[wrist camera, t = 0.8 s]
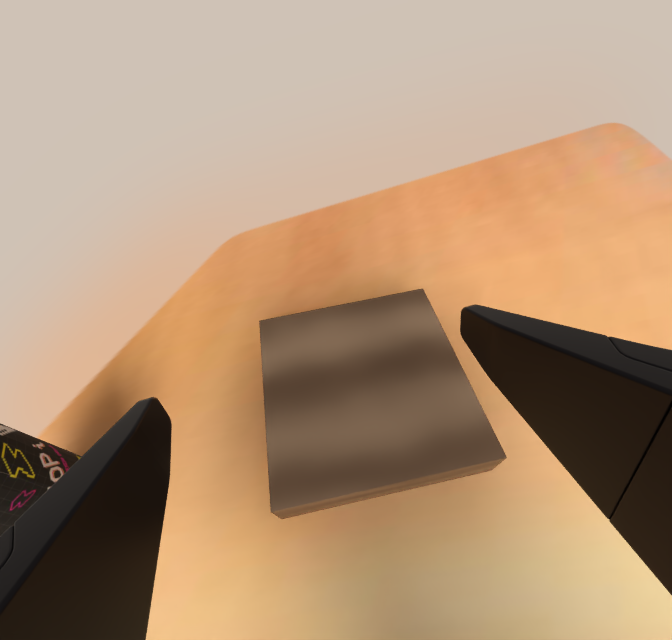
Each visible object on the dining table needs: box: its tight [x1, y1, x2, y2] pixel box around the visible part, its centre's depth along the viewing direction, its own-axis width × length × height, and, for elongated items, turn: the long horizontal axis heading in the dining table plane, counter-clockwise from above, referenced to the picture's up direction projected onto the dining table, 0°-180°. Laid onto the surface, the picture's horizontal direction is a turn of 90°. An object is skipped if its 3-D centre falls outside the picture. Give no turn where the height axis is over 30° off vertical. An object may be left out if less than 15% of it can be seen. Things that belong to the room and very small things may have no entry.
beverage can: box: [0, 424, 82, 536], centre depth 17 cm, size 6×6×12 cm
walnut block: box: [259, 289, 507, 519], centre depth 24 cm, size 14×14×3 cm
